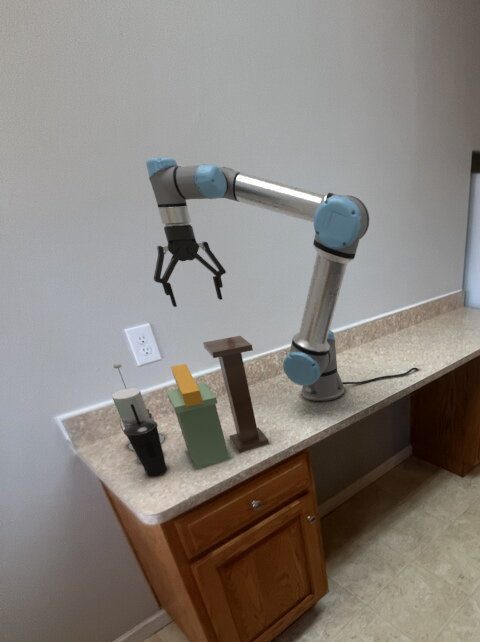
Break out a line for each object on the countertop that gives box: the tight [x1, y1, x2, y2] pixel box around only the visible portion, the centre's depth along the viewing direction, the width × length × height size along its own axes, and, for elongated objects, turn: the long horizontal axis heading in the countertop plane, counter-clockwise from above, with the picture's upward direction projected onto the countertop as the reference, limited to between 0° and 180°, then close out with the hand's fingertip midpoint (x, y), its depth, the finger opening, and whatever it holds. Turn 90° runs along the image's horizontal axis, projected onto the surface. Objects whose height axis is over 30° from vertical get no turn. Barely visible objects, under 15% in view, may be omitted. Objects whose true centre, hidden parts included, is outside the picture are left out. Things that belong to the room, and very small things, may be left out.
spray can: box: [111, 387, 151, 464], centre depth 113 cm, size 6×6×20 cm
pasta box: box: [170, 363, 203, 407], centre depth 110 cm, size 22×4×4 cm, turn 30°
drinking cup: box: [123, 404, 168, 478], centre depth 107 cm, size 8×8×20 cm
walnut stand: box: [202, 335, 270, 454], centre depth 117 cm, size 10×10×30 cm
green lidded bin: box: [166, 382, 231, 470], centre depth 114 cm, size 12×10×19 cm
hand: (198, 302), depth 129 cm, fingers open, 13 cm apart
